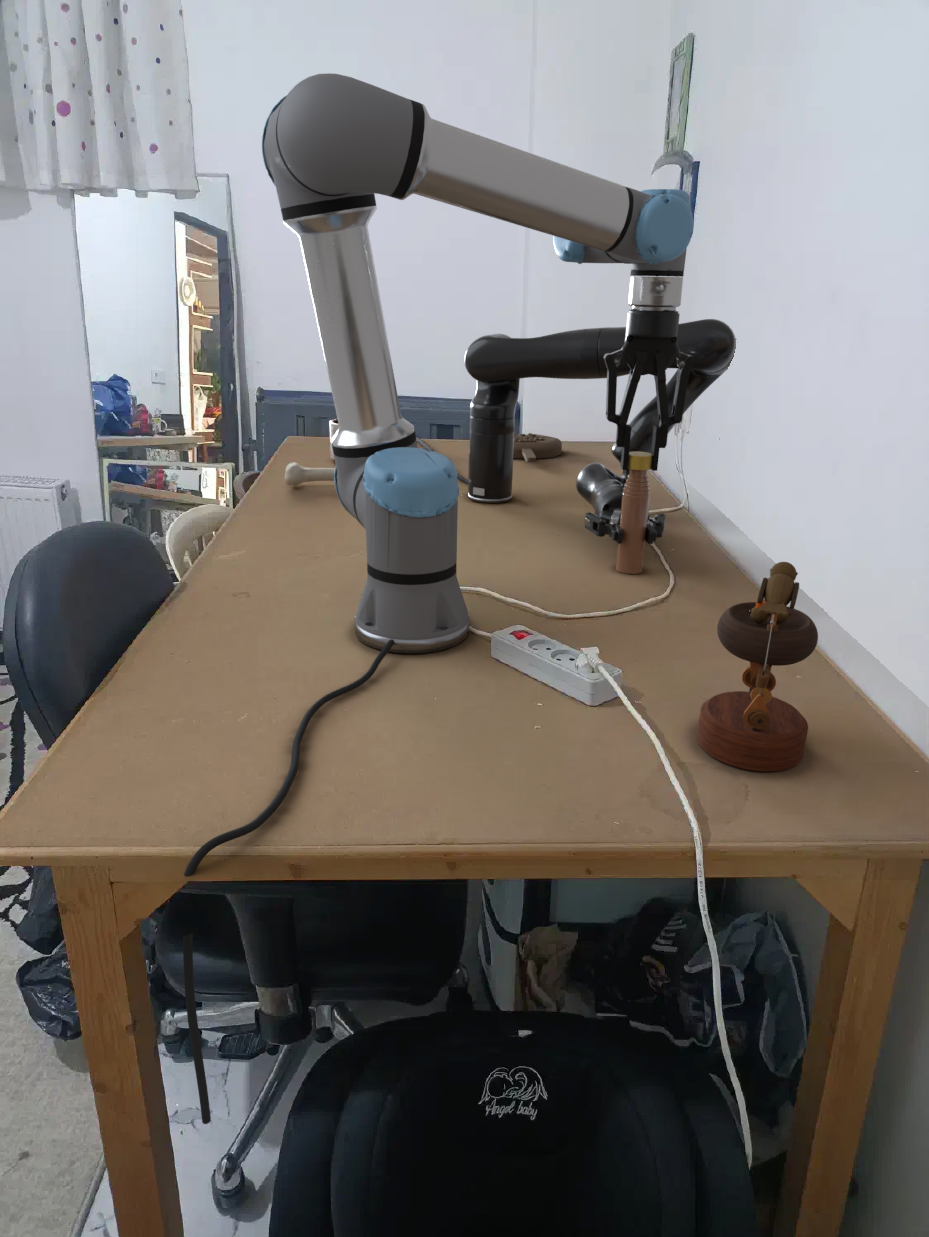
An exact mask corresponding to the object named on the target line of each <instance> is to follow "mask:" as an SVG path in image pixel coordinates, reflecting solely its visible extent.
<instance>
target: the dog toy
mask: <svg viewBox="0 0 929 1237" xmlns="http://www.w3.org/2000/svg"><path fill="white" fill-rule="evenodd" d="M334 472H335V467H307V466H302V465H300V464H299V463H298V462H295V461H293V462H290V463H288V464H287V465H286V467H285V470H284V477H283V478H284V483H285V485H286V486H290V487H291V486H292V487H294V486H295V487H296V486H298V485H301V484H303V483H310V482H334Z"/></svg>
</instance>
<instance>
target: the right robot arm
mask: <svg viewBox="0 0 929 1237" xmlns="http://www.w3.org/2000/svg"><path fill="white" fill-rule="evenodd" d="M625 333H626V326H613V327H611V326H610V327H609V326H608V327H607V326H605V327H592V328H590V327H589V328H580V329H573V330H572V329H571V330H565V331H561V332H555V333H551V334H547V335H542V336H537V337H522V338H521V337H511V336H509V335H507V334H504V333H492V334H485V335H482V336H479V337H478V338H476V339H474V340H473V341H472V342H471V343H470V345H469V346H468V348H467V349H466V351H465V353H464V358H463V361H464V362H463V363H464V367H465V370H466V372H467V373H468V374H469V375H470V376H471V377H472V379H474V380H475V381H476V389H475V393H474V396H473V398H472V399H471V401H470V405H469V443H468V444H469V446H468V447H469V451H468V476H467V477H468V478H465V477H464V476H463V475H461V474H460V473H458V472H457V480H459V481H461V482H462V483H464V484H465V485H467V498H468V499H469V500H470V501H473V502H478V503H484V504H500V503H506V502H509V501H511V500H512V499H513V472H514V471H513V470H514V458H513V448H514V433H515V420H516V416H515V415H516V407H517V405H518V400H519V394H520V381H521V379H531V378H543V379H559V380H561V379H562V380H594V379H595V380H596V379H597V380H598V379H599V380H600V379H607V367H606V364H605V361H604V355H605V354H606V353H613V352H615V351H618V350H620V349H621V346H622V345H623V343H624V340H625ZM735 337H736V335H735V332H734V331H733V328H731V327H730V325H728V324H727V323H726V322H724V321H723V320H719V319H716V318H705V319H699V320H698V319H697V320H692V321H688V322H682V323H679V325H678V335H677V344H678V347H679V351H680V352H682V353H684V354H686V355H691V356H693V357H695V363H694V365H693V367H692V369H691V371H690V372H689V378H688V384H687V390H686V397H685V403H684V410H683V415H684V414H685V413H686V412H687V411H688V410H689V408H690V407H691V406H692V405H693V404H694V403H695V402H696V401H697V399H698V398H699V397H700V396H701V395H702V394H703V393H704V392H705V391H706V390H707V389H708V388H709V387H710V386H712V385H713V384H714V382H715V381H717V380H718V379H719V378H720V377H721V376H722V375H723V374H724V373H725V372H727V370H729V369H728V367H729V366H730V363H731V361H732V359H733V357H734V353H735V349H736V340H737V338H735ZM616 368H617V378H618V377H624V376H629V373H630V370H631V369H630V367H629V366H628V364H627V362H626V361H625V359H624V357H622V358H621V359H620V365H619V366H618V367H616ZM667 369H676V371H675V372H674V374H673V375H672V377H671V378H670V380H669V381H668V382H666V389H667V401H668V412H669V415H671V414H672V408H673V401H674V394H675V388H676V381H677V375H678V370H679V367H678V366H677V358H675V360H674V361H673V362H672V363H671V364H670V366H669V367H668V368H667ZM628 424H629V425H630V426H631V437H630V448H629V452H648V453H651V448H652V437H653V427H654V425H659V417H658V407H657V396H656V395H655V396H654V397H653V398H652V399H651V400H650V401H649V402H647V403H646V405H644V407H643V408H642V409H640V410H639V412H638V413H636V415H635V416H634V417H633V418H632V419H631V421H630V422H629V423H628ZM675 426H676V424H673V425H671V426H670V427H669V429H668V434H669V433H670V432H671V431H672V429H674V427H675ZM416 440H417V443H418V444H420V445H421V446H422V448H424V449H426V450H428V451H430V452H431V451H434V449H432V448H431V447H430V446H429V445H427V443H426V442H424V441H423V440H422V439H420V438H419V437H417V436H416ZM611 454H612V455H613V457H614V458H615V459H616V460H617V461H618V462H619V463H620V464H621V455H622V447H617V445H616V441H615V442H614V443H613V445H612V447H611ZM629 470H630V469H628V470H622V473H621V475H618V474H616V473H615V472H614V471H612V470H611V469H610V468H608V467H607V466H605V465H604V464H602V463H600V462H591V463H589V464H587V465H585V466H584V467H583V468H582V469H581V470H580V471H579V473H578V475H577V477H576V481H575V488H576V491H577V494H579V495H580V497H581V498H583V499H584V500H585V501H586V502H587V503H588V504H590V505H591V506H592V508H593V511H594V513H593V512H586V513H585V517H584V518H585V519H584V528H585V529H586V530H588V531H589V532H591V533H593V534H594V535H595V536H597V537H599V538H602V537H605V535H607V536H608V538H610V539H611V541H614V542H616V544H618V543H619V544H622V537H623V530H622V528H621V527H620V516H621V505H622V493H623V488H624V487H625V483H626V480H627V476H628V475H629ZM665 525H666V514H665V513H659V514H657V515H655V516H654V517H651V516H650V515H649V514H648V519H647V529H646V539H645V543H646V544H647V545H654V542H656V541H657V538H658V539H660V538H662V537H663V534H664V531H665Z"/></svg>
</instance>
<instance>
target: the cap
mask: <svg viewBox="0 0 929 1237" xmlns="http://www.w3.org/2000/svg"><path fill="white" fill-rule="evenodd" d="M652 458H653V454H651V453H648V452H629V459H628V469H632V470H647V471H650V470H651V468H652Z"/></svg>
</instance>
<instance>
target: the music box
mask: <svg viewBox="0 0 929 1237" xmlns="http://www.w3.org/2000/svg"><path fill="white" fill-rule="evenodd" d="M798 574H799V572H797V569H796V567H795V566H794V565H793V564H792V563H791V562H788V561H779V562H777V563H775V564H774V565H773V566H772V567H771V568H769V575H770V576H769V577H763V578H762V581H761V585H760V588H759V592H758V596H757V600H756V601H747V602H740V603H737V604H734V605H732V606H730V607H728V608H727V609H725V611H723V612H722V614H721V615H720V617H719V620H718V622H717V628H716V632H717V637H718V640H719V641H720V644H721V645H722V646H723V648H724V649H725V650H726V651H727V652H728V653H730V654H731V655H733V656H735V657H736V658H738V659H741V660H743V661H747V662H749V666H747V667H746V668H745V669H744V670H743V672H742V673H741V678H742V679H741V680H742V683H743V684H744V685H745V686H746V687H748V688H749V689H748V691H745V690H744V691H743V690H739V691H737V690H735V691H734V690H733V691H725V692H722V693H719V694H716V695H714V696H712V697H711V698H708V699H707V700H705V701H704V702H703V703H702V705H701V706H700V709H699V710H700V711H699V718H698V724H697V732H696V739H697V742H698V744H699V746H700V748H702V750H703V751H704V752H706V753H707V754H708V755H710V756H711V757H712V758H714V759H716V760H718V761H719V762H722V763H724V764H726V765H729V766H731V767H732V766H733V767H736V768H739V769H743V770H748V771H753V772H754V771H755V772H778V771H783V770H787V769H791V768H792V767H794V766H795V767H796V765H798V764H799V763H800V762H801V761H802V759H803V757H804V752H805V747H806V742H807V737H808V732H809V724H808V721H807V720H806V718H805V716H803V715H802V714H801V712H800V711H799V710H798V709H797V708H796V707H795V706H794V705H792V704H790V703H788V702H786V701H784V700H783V699H781V698H778V697H774V696H772V691H773V690H774V689H775V687H776V685H777V679H776V676H775V675H774V674H773V673H772V671H771V670H772V668H773V667H774V666H777V667H779V666H790V665H795V664H797V663H800V662H802V661H804V660H806V659H808V658H809V657H810V656H811V655H812V654H813V653H814V651H815V649H816V647H817V645H818V641H819V631H818V628H817V626H816V624H815V622H814V621H813V619H812V618H811V617H810V616H809V615H807V614H806V613H805V612H803V611H801V610H799V609H796V608H795V606H796V603H797V598H798V595H799V588H800V583H799V582H797V581H796V578H797V576H798ZM788 605H789V606H788Z"/></svg>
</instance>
